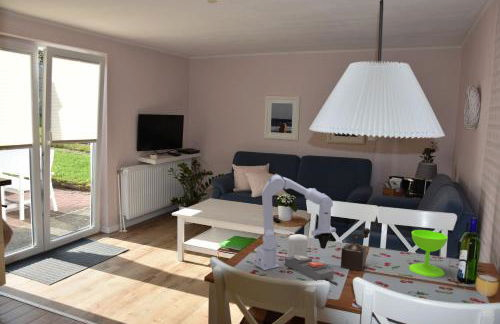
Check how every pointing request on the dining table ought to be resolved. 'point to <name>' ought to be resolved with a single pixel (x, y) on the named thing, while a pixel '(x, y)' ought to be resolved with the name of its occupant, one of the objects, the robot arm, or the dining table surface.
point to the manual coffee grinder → (354, 254)
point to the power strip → (310, 269)
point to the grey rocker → (301, 257)
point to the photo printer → (297, 245)
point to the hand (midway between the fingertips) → (322, 248)
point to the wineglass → (428, 251)
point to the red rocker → (315, 264)
